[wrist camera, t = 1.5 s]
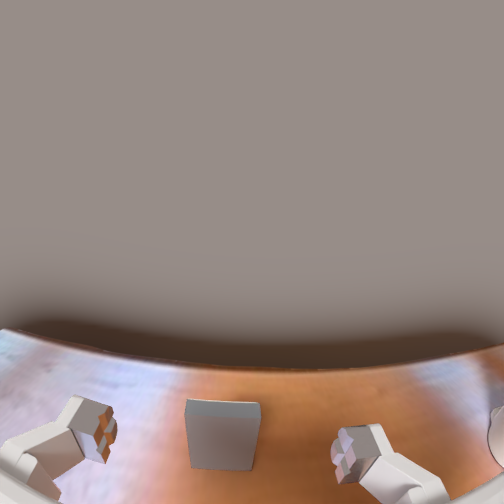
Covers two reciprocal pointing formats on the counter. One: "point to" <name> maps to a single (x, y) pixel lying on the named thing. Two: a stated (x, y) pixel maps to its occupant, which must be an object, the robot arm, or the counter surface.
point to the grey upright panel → (222, 434)
